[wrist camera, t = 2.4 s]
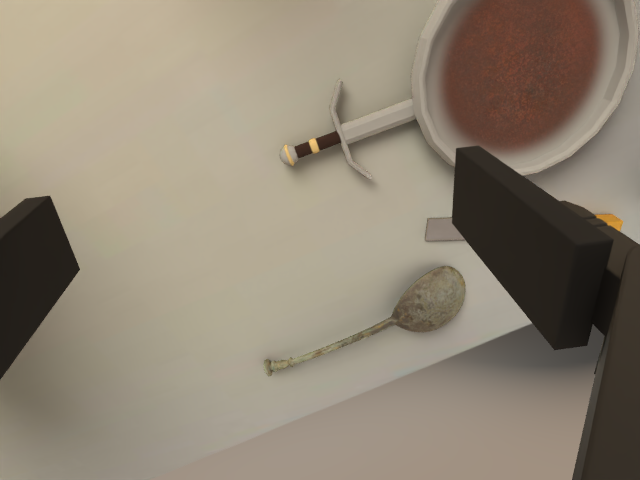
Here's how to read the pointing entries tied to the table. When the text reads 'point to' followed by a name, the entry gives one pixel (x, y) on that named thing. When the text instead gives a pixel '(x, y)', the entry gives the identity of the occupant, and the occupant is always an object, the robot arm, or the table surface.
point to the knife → (447, 231)
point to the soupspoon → (406, 312)
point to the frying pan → (507, 81)
